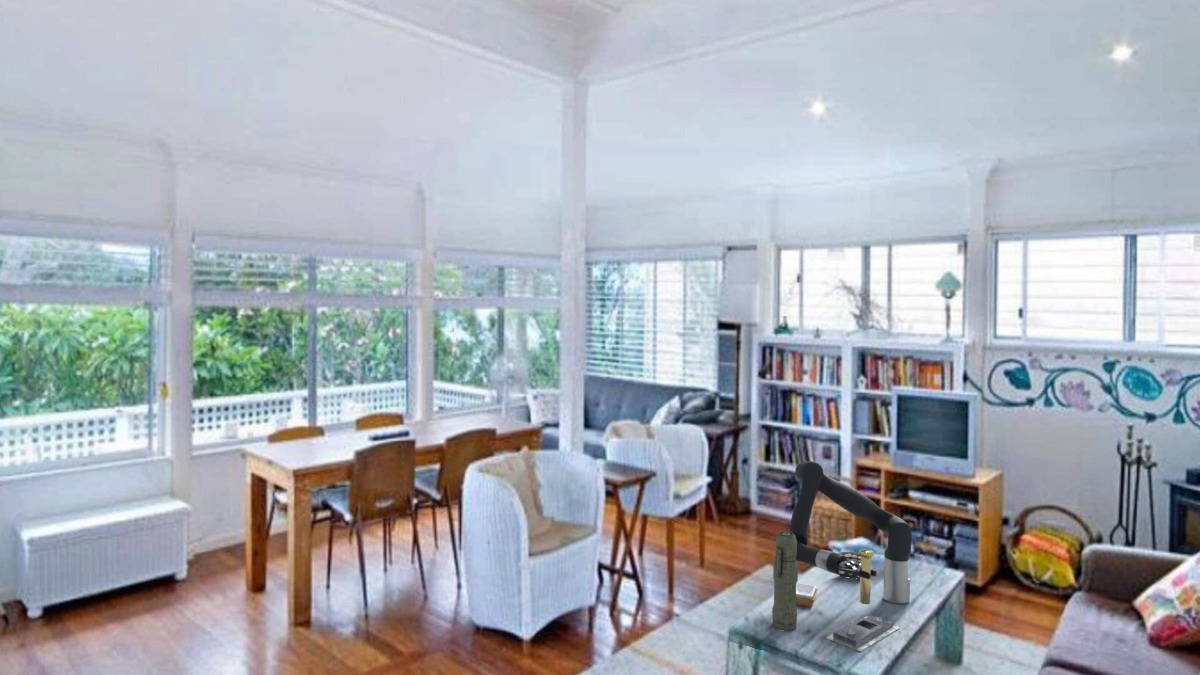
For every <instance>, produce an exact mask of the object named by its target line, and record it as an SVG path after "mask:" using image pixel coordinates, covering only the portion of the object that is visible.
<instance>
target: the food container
mask: <svg viewBox="0 0 1200 675" xmlns="http://www.w3.org/2000/svg"><path fill="white" fill-rule="evenodd" d="M837 553H838V554H841V555H844V556H845V557H846V559H847V561H853V562H855V563H856V561H857V560H859V561H861V555H859V552H855V551H840V552H837ZM839 576H840V577H839ZM838 577H839V578H842V577H847V576H842V575H838ZM850 578H853V577H849V578H848V579H850ZM856 578H857V579H856V580H858V579H860V577H857V576H856Z"/></svg>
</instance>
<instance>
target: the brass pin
mask: <svg viewBox="0 0 1200 675" xmlns="http://www.w3.org/2000/svg"><path fill="white" fill-rule="evenodd" d="M858 553H859V555H861V570H862V571H865V572H868V573H870V574H871V569H872V557H874V554H875V553H874V550H872V549H868V548H861V549H859V550H858ZM871 578H872V577H871ZM871 578H870V579H866V578H863V577H860V580H859V584H860V585H859V603H860V604H863V605H870V604H871V586H872V584H871V582H872V579H871Z"/></svg>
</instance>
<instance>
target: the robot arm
mask: <svg viewBox="0 0 1200 675" xmlns="http://www.w3.org/2000/svg"><path fill="white" fill-rule="evenodd" d="M794 472H795V476H796V478H797V480H798V481H799V482H801V490H800V494H799V497H798V500H797V502H796V503H795V506H794V508H793V511H792V514H791V518H790V524H789V531H788V532H791V533H793V534H794V535H795V538H796V541H797V554H796V562H801V563H805V564H807V565H809V566H812V567H815V568H818V569H820V570H823V571H825V572H828V573H832V574H834V575H838V576H839V575H842V576H847V577H853V578H856V576H857V577H863V578H866V579H870V578H872V577H877V570H875V569H873V568H871V574H870V573H868V572H865V571H862V570H861V561H859V560H857V561H856V563H855V562H853V561H847V559H846V557H845V556H844V555H841V554H838V553H839V552H835V551H830V550H828V549H827V550H826V549H822V548H818V547H814V546H810V545H808V531H809V525H810V521H811V516H812V515H811V514H812V511H813V507H814V503H815V501H816V500H815V499H816V496H817V494H818V492H820V493H821V494H823V495H824V496H825V497H827V498H828V499H830V500H831V501H832V502H833V503H835V504H837V505H838V506H839V507H840V508H842V509H844V510H845V511H846V512H848V513H850V514H851V515H853V516H855V517H856V518H860V519H863V520H865V521H867V522H869V523H871V524H872V525H874V526H875V527H876V528H878V529H879V530H880V531H881V532H882V533H884V534H885V536H886V537H887V546H886V547H887V548H885V549H884V554H883V555H884V560H883V561H884V563H883V564H884V566H883V593H882V595H883V600H885V601H887V602H889V603H892V604H898V605H899V604H900V605H902V604H906V603H910V600H911V599H910V598H911V579H910V577H909V567H910V566H909V565H910V555H911V552H912V542H913V540H912V539H913V532H912V528H911V526H910V524H908V523H907V522H906V521H905V520H904V519H902V518H901V517H899V516H897V515H895V514H893V513H891V512H889V511H887V510H885V509H883V508H881V507H880V506H878V505H877V504H876V503H875V502H874V501H873V500H871V499H870V498H869V497H867V496H866V495H865V494H863V493H862V492H861V491H859V490H857V489H855V488H854V487H852V486H850V485H848V484H846V483H844V482H841V481H839V480H836V479H834V478H832V477H830V476H828V475H827V474H825V472H824V469H823V467H822V465H821V464H820V463H819V462H817V461H813V460H812V461H810V460H806V461H801V462H800V463H798V464H797V465H796V467H795V471H794Z"/></svg>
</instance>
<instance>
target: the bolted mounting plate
mask: <svg viewBox="0 0 1200 675" xmlns="http://www.w3.org/2000/svg"><path fill="white" fill-rule="evenodd" d="M899 628H900V627H898V626H896V625H894V623H892V622H891V621H887V620H884V619H882V618H881V617H880V616H873V615H871V614H870V615H866V616H864V617H862V616H861V617H859V618H857V619H855V620H854V621H852V622H850V623H848V624H846V625H844V626H842V627H841V628H839V629H836V630H835V631H833V633H832V634H831V635H829V636H827V637H826V640H828V639H829V640H828V641H831V640H832V642H833V641H835V642H834V643H836V642H837V643H836V644H838V643H840V644H839V645H841V644H842V645H841V646H843V645H845V646H844V647H846V646H847V647H846V648H848V647H849V649H851V648H852V649H851V650H853V649H855V650H854V651H856V650H857V651H856V652H858V651H859V652H858V653H861V652H863V651H864V649H865V650H866V649H868V648H870V647H871V646H873V645H875V644H876V643H878V642H879V641H881V640H883V639H885V638H886V636H887V637H889V636H890V635H892V634H893V633H895V632H896V630H897V631H899V630H900V629H899ZM891 633H892V634H891ZM874 643H875V644H874ZM869 646H870V647H869ZM867 647H868V648H867Z"/></svg>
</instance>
